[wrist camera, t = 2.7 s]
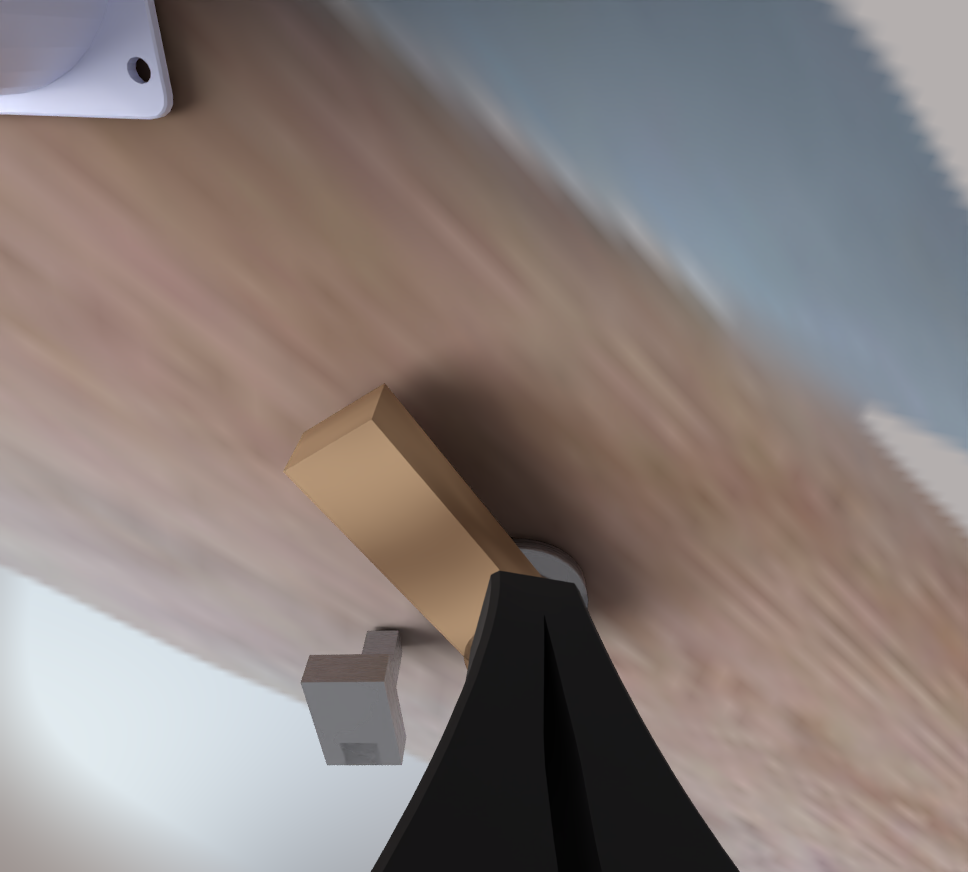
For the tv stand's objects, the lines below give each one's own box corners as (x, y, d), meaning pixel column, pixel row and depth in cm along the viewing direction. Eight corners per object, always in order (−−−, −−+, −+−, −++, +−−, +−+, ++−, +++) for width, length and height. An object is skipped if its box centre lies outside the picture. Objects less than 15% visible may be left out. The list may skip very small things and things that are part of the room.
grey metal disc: (452, 535, 22) (450, 549, 21) (593, 542, 22) (595, 556, 21) (452, 632, 24) (450, 647, 24) (578, 639, 24) (580, 653, 24)
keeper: (405, 572, 23) (384, 681, 19) (418, 651, 25) (401, 764, 21) (336, 573, 23) (300, 682, 19) (355, 652, 25) (327, 764, 21)
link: (590, 623, 22) (603, 721, 19) (503, 658, 24) (502, 757, 20) (393, 377, 18) (367, 453, 14) (296, 437, 19) (251, 519, 16)
